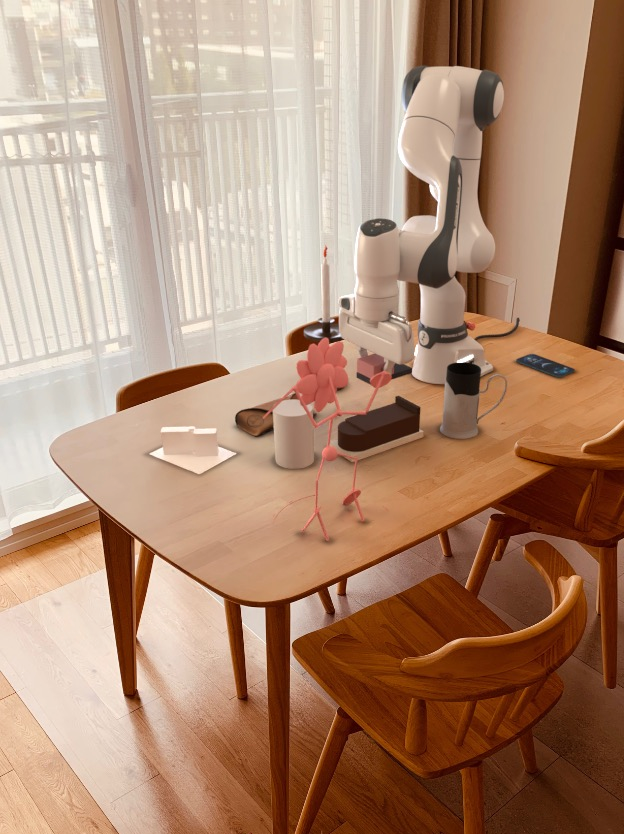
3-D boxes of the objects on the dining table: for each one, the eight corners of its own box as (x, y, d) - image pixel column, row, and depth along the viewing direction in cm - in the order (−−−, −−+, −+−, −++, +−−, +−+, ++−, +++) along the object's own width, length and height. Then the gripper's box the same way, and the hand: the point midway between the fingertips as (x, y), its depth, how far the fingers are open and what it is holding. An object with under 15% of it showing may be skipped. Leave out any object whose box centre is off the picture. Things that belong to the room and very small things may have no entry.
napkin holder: (148, 454, 170) (144, 430, 167) (186, 434, 178) (183, 411, 175) (199, 474, 163) (197, 449, 160) (237, 453, 171) (235, 429, 168)
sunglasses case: (256, 436, 177) (246, 407, 176) (242, 441, 182) (231, 413, 181) (319, 413, 187) (309, 386, 186) (303, 419, 193) (294, 392, 192)
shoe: (399, 423, 185) (400, 393, 181) (423, 437, 180) (425, 406, 176) (329, 447, 174) (328, 416, 170) (352, 462, 169) (352, 430, 165)
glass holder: (438, 421, 187) (442, 360, 178) (499, 422, 187) (506, 361, 179) (441, 438, 179) (445, 376, 171) (504, 439, 179) (511, 377, 171)
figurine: (397, 506, 154) (404, 332, 136) (296, 562, 138) (288, 372, 120) (342, 478, 163) (341, 310, 144) (241, 527, 147) (225, 345, 128)
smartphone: (559, 376, 209) (514, 359, 218) (558, 378, 210) (514, 361, 219) (576, 369, 214) (532, 352, 223) (576, 371, 214) (531, 355, 223)
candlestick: (352, 392, 199) (353, 249, 181) (309, 395, 197) (305, 251, 178) (343, 375, 208) (343, 237, 190) (302, 378, 206) (297, 239, 187)
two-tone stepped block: (395, 365, 174) (396, 347, 172) (412, 373, 171) (413, 354, 169) (356, 377, 168) (356, 358, 166) (372, 385, 165) (373, 366, 162)
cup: (297, 446, 174) (295, 396, 168) (322, 460, 169) (320, 408, 163) (267, 458, 169) (264, 407, 163) (292, 472, 165) (289, 420, 158)
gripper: (423, 316, 155) (420, 383, 162) (357, 290, 168) (357, 353, 175) (399, 323, 152) (396, 390, 159) (333, 296, 164) (334, 359, 172)
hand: (375, 370), depth 167 cm, fingers closed on two-tone stepped block, 5 cm apart
